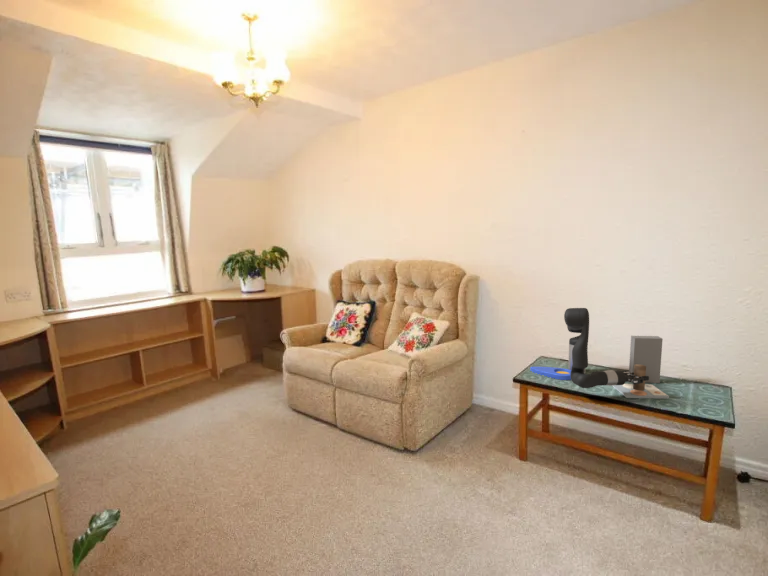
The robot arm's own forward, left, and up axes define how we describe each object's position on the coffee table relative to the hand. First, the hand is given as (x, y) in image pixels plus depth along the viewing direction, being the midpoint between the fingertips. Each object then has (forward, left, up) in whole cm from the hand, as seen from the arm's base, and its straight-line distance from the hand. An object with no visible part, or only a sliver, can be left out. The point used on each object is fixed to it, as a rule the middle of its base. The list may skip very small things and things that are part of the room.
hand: (644, 376), depth 209 cm
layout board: (-4, 0, -10) cm, 11 cm away
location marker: (-29, -36, -11) cm, 48 cm away
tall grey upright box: (-20, +10, -10) cm, 24 cm away
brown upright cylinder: (+1, -3, -6) cm, 7 cm away
